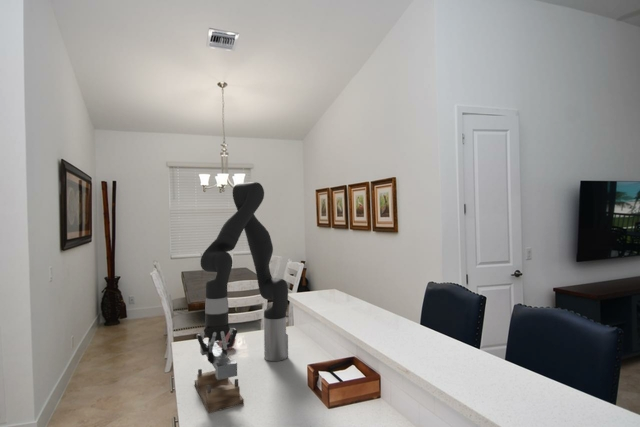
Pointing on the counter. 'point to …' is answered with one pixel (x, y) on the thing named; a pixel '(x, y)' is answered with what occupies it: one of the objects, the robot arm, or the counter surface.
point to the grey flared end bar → (221, 362)
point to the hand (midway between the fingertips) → (217, 361)
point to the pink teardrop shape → (226, 340)
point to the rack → (217, 391)
